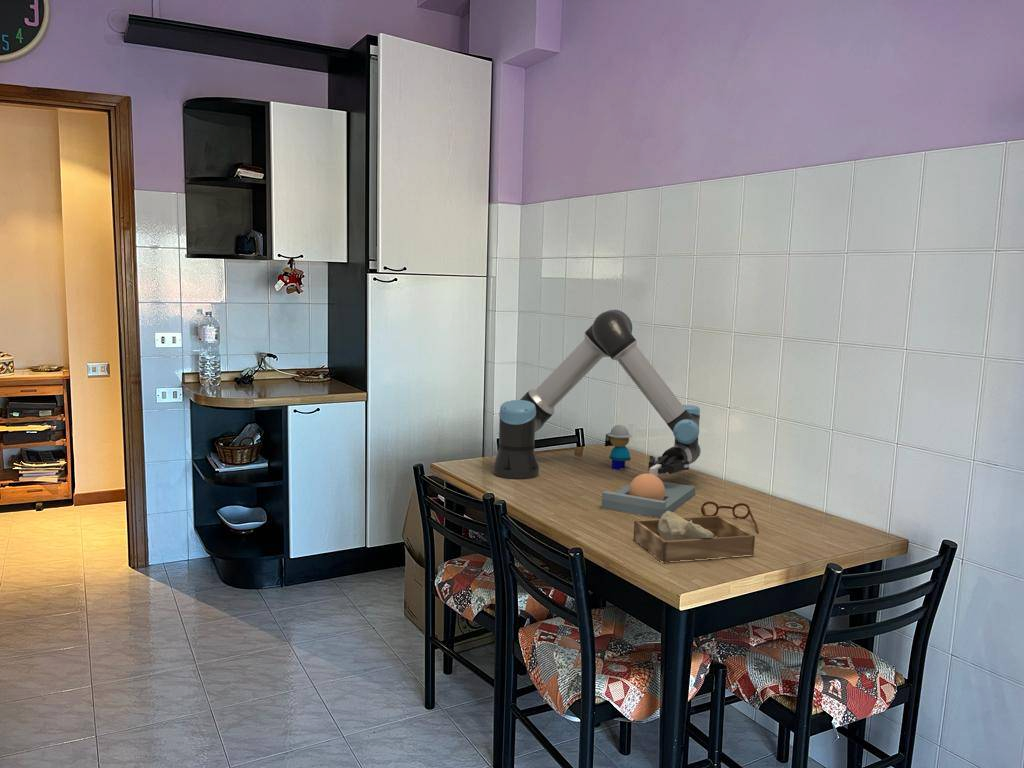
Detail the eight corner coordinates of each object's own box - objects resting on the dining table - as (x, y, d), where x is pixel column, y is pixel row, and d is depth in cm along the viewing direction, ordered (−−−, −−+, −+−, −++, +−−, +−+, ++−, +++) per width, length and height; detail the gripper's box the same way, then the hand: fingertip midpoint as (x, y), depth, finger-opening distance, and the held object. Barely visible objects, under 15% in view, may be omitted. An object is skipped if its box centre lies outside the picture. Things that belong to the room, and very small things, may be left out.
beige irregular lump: (655, 546, 201) (642, 523, 189) (671, 522, 203) (659, 498, 191) (708, 577, 192) (697, 555, 180) (724, 553, 194) (715, 529, 182)
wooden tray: (633, 540, 197) (634, 520, 196) (717, 534, 203) (718, 515, 203) (663, 563, 181) (664, 542, 181) (753, 556, 188) (754, 536, 187)
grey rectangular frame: (638, 485, 250) (639, 471, 249) (695, 494, 241) (695, 480, 241) (601, 508, 224) (602, 492, 223) (663, 519, 215) (663, 502, 215)
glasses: (748, 520, 218) (750, 502, 217) (759, 535, 205) (760, 516, 205) (700, 517, 219) (701, 500, 218) (707, 532, 206) (708, 513, 206)
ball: (619, 477, 225) (625, 507, 229) (640, 490, 216) (647, 520, 220) (647, 462, 228) (653, 492, 232) (669, 474, 220) (675, 504, 224)
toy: (612, 463, 279) (614, 421, 277) (634, 467, 273) (637, 425, 271) (600, 468, 272) (602, 424, 270) (623, 472, 267) (625, 428, 265)
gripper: (696, 472, 249) (672, 489, 229) (656, 467, 255) (629, 482, 235) (697, 449, 248) (674, 463, 228) (657, 444, 254) (631, 457, 234)
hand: (651, 473), depth 231 cm, fingers closed
